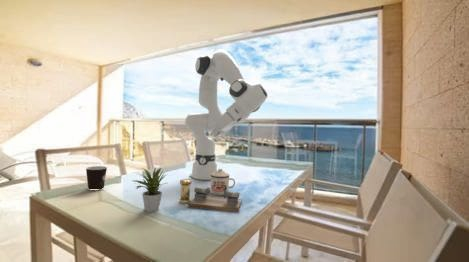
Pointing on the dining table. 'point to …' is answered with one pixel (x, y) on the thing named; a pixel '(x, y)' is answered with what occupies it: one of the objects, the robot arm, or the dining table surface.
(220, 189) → the teacup with lid
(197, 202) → the shaft rig
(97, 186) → the coffee mug
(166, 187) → the dining table surface
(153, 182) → the house plant
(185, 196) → the brass door knob
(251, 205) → the dining table surface
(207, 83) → the robot arm
